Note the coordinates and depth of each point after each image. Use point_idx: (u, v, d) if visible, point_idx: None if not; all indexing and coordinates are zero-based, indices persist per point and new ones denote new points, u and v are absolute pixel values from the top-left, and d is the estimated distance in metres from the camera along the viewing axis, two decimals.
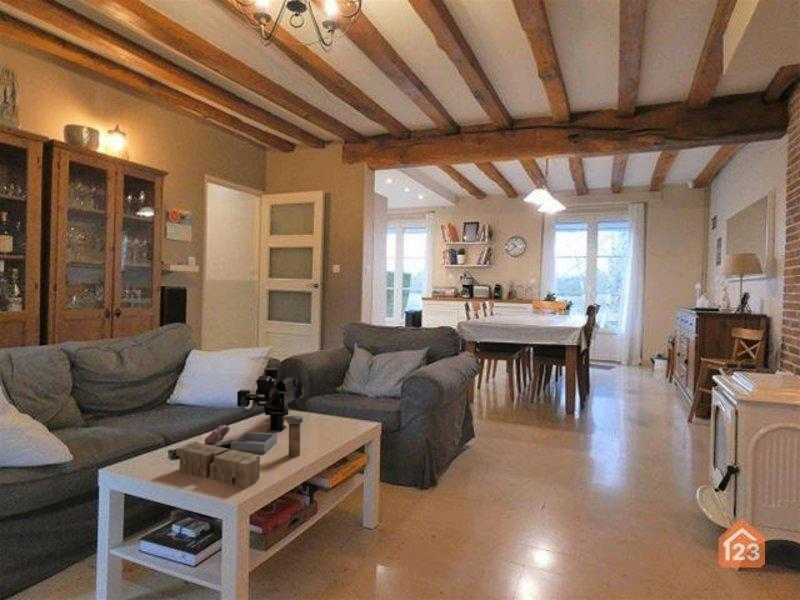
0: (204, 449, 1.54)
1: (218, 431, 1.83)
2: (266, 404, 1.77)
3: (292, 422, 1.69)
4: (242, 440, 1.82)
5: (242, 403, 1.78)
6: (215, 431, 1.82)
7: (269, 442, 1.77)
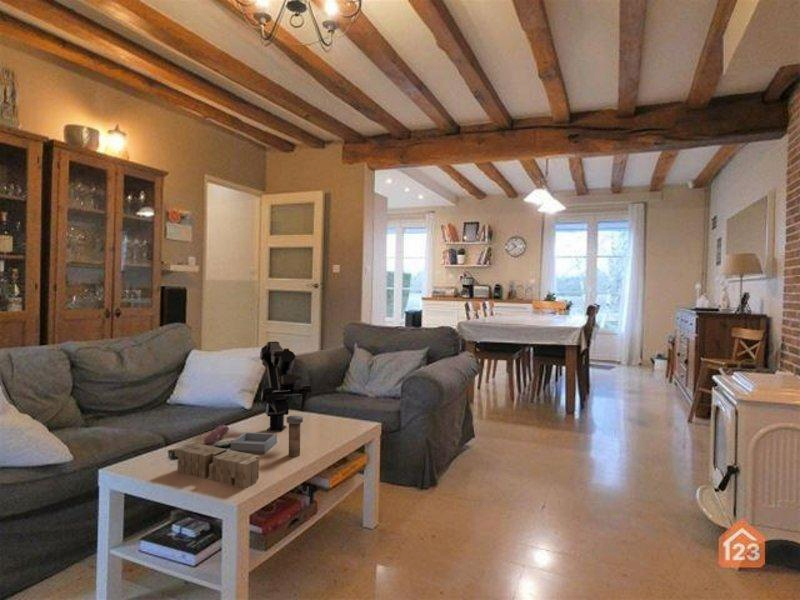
0: (203, 450, 1.54)
1: (217, 431, 1.83)
2: None
3: (292, 422, 1.69)
4: (242, 440, 1.82)
5: (277, 411, 1.78)
6: (214, 431, 1.82)
7: (269, 442, 1.77)
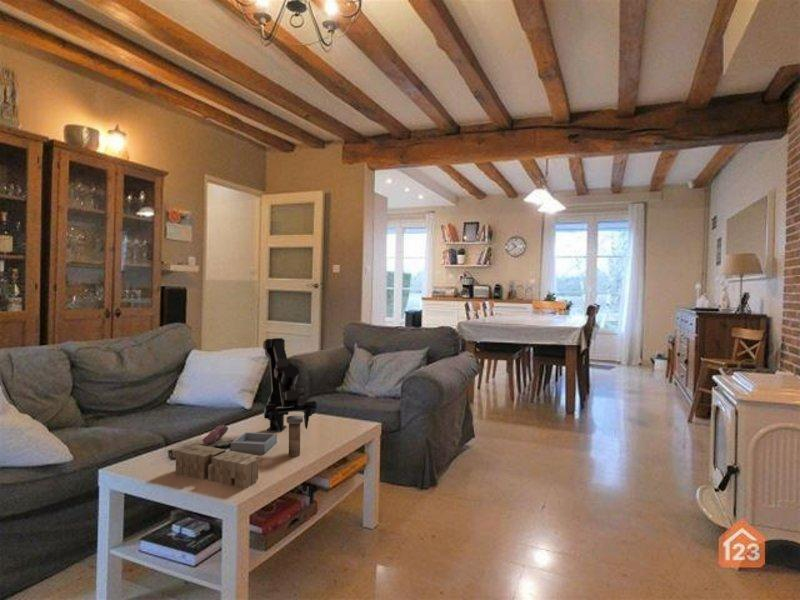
0: (201, 451, 1.53)
1: (216, 431, 1.83)
2: None
3: (292, 422, 1.69)
4: (242, 440, 1.82)
5: (281, 428, 1.72)
6: (213, 431, 1.82)
7: (269, 442, 1.77)
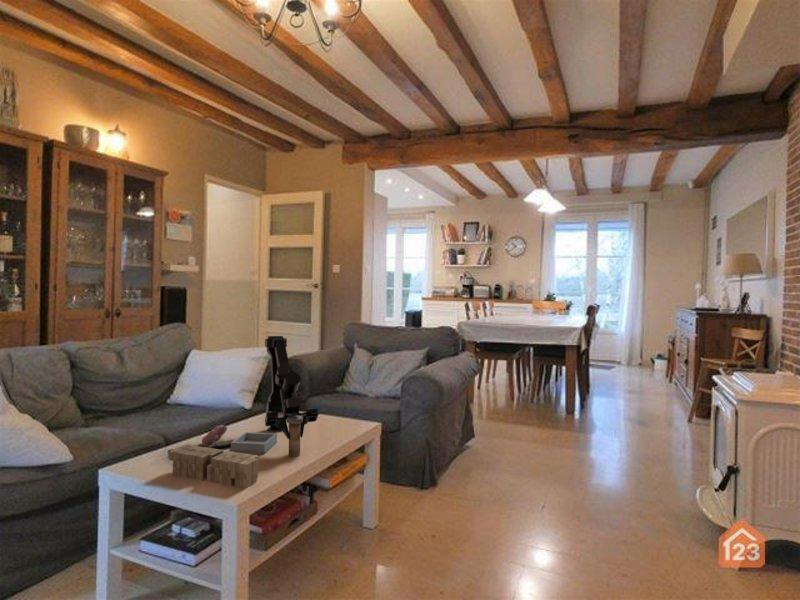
0: (199, 451, 1.52)
1: (215, 431, 1.83)
2: (302, 435, 1.72)
3: (292, 422, 1.69)
4: (242, 440, 1.82)
5: (288, 436, 1.70)
6: (212, 431, 1.83)
7: (269, 442, 1.77)
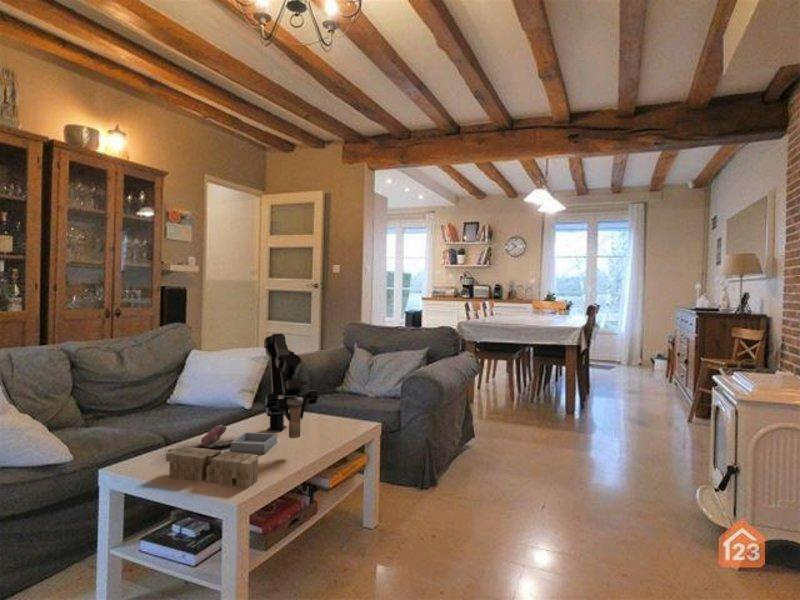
0: (197, 453, 1.51)
1: (215, 431, 1.83)
2: (302, 417, 1.72)
3: (292, 403, 1.69)
4: (242, 440, 1.82)
5: None
6: (212, 431, 1.83)
7: (269, 442, 1.77)
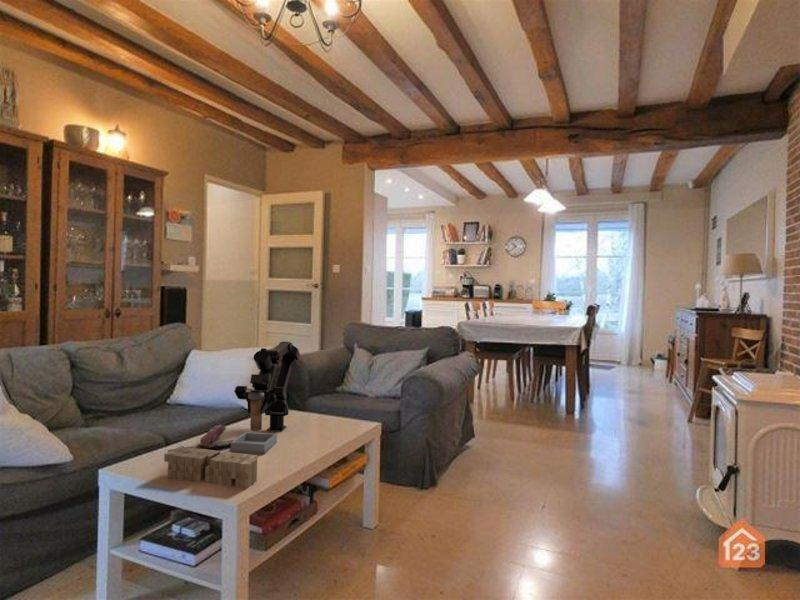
0: (195, 453, 1.50)
1: (214, 431, 1.83)
2: (262, 411, 1.77)
3: (250, 397, 1.76)
4: (242, 440, 1.82)
5: (250, 410, 1.78)
6: (211, 431, 1.83)
7: (269, 442, 1.77)
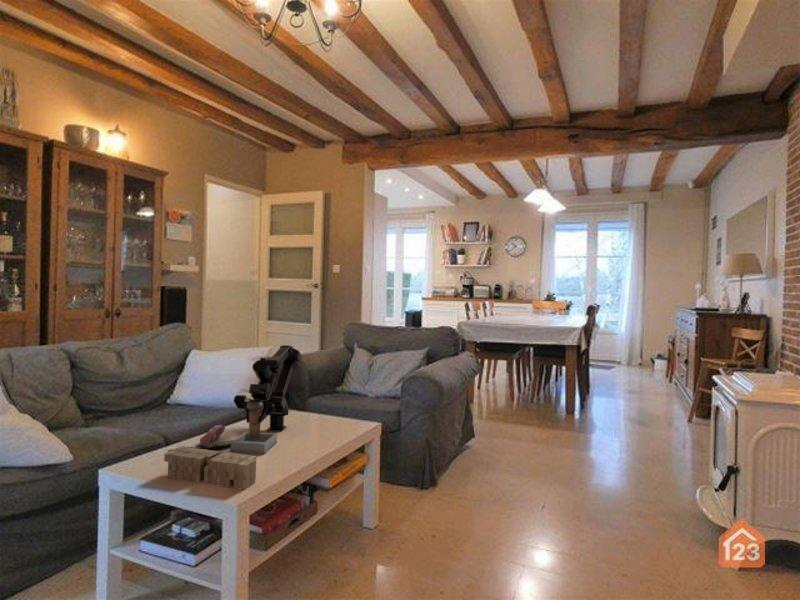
0: (195, 453, 1.50)
1: (214, 431, 1.83)
2: (260, 421, 1.78)
3: (248, 407, 1.76)
4: (242, 440, 1.82)
5: (248, 420, 1.79)
6: (211, 431, 1.83)
7: (269, 442, 1.77)
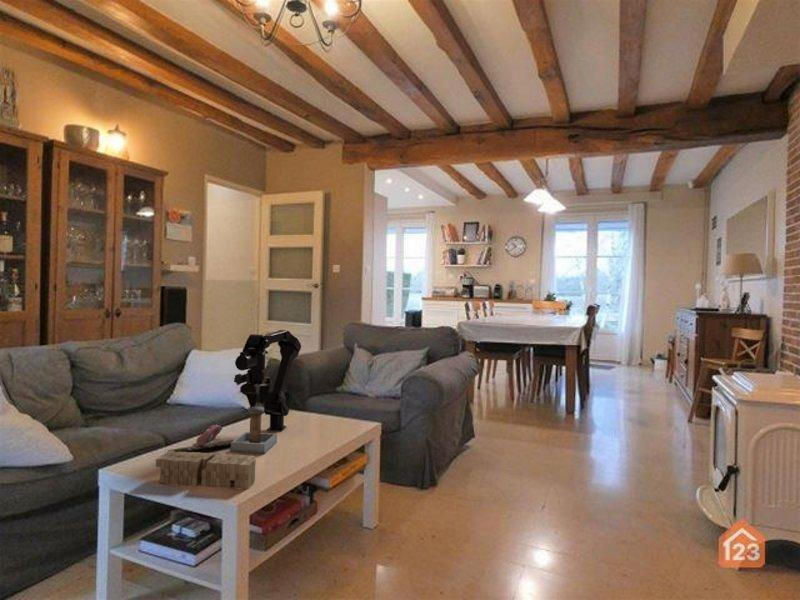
0: (189, 457, 1.47)
1: (210, 431, 1.83)
2: None
3: (250, 412, 1.77)
4: (242, 440, 1.82)
5: (261, 401, 1.93)
6: (207, 431, 1.83)
7: (269, 442, 1.77)
